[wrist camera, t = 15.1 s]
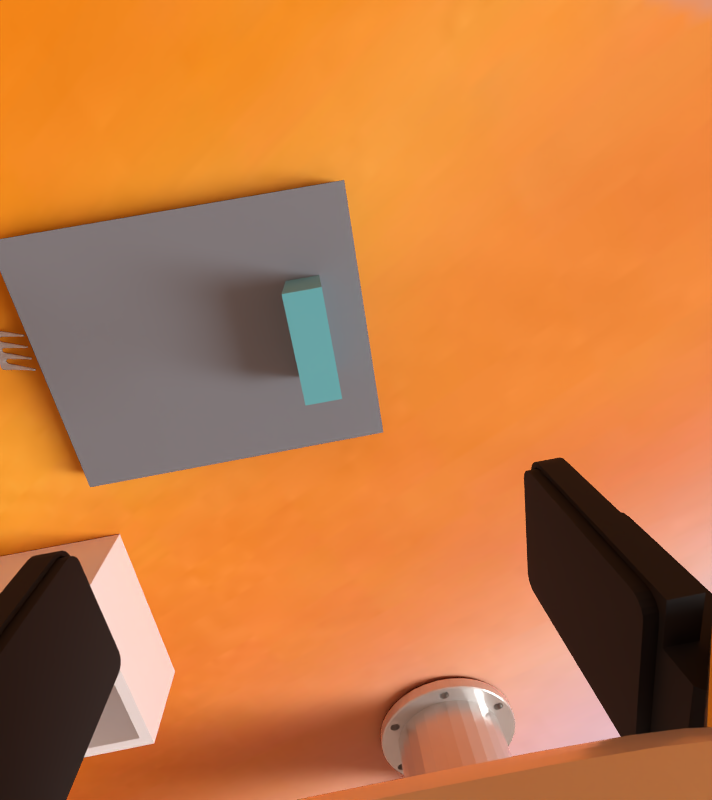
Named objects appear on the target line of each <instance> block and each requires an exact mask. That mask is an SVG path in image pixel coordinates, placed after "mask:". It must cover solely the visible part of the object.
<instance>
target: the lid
mask: <svg viewBox="0 0 712 800" xmlns="http://www.w3.org/2000/svg"><path fill="white" fill-rule="evenodd" d="M0 272H1V274H2V277H3V279H4V281H5V284H6V286H7V289H8V291H9V293H10V296H11V298H12V301H13V303H14V305H15V308H16V310H17V313H18V315H19V317H20V320H21V322H22V325H23V327H24V329H25V332H26V334H27V337H28V339H29V341H30V344H31V346H32V349H33V351H34V353H35V356H36V358H37V361H38V363H39V365H40V368H41V370H42V373H43V375H44V377H45V380H46V382H47V385H48V387H49V389H50V392H51V394H52V397H53V399H54V401H55V404H56V406H57V409H58V411H59V413H60V416H61V418H62V421H63V423H64V425H65V428H66V430H67V433H68V435H69V437H70V440H71V442H72V445H73V447H74V449H75V452H76V454H77V457H78V459H79V461H80V464H81V466H82V469H83V471H84V473H85V476H86V478H87V481H88V483H89V485H90V487H94V486H99V485H104V484H110V483H115V482H120V481H126V480H131V479H136V478H142V477H147V476H152V475H158V474H163V473H168V472H174V471H179V470H184V469H190V468H195V467H200V466H206V465H211V464H216V463H222V462H227V461H232V460H238V459H243V458H248V457H254V456H259V455H264V454H270V453H275V452H280V451H286V450H291V449H296V448H302V447H307V446H312V445H318V444H323V443H328V442H334V441H339V440H344V439H350V438H355V437H360V436H366V435H371V434H376V433H382V432H383V428H382V421H381V415H380V409H379V402H378V396H377V389H376V383H375V376H374V370H373V363H372V357H371V351H370V344H369V338H368V331H367V325H366V318H365V312H364V305H363V299H362V293H361V286H360V280H359V273H358V267H357V260H356V254H355V248H354V241H353V235H352V228H351V222H350V215H349V209H348V202H347V196H346V190H345V183H344V180H342V181H336V182H330V183H325V184H319V185H313V186H307V187H301V188H295V189H290V190H284V191H278V192H272V193H266V194H260V195H255V196H249V197H243V198H237V199H231V200H226V201H220V202H214V203H208V204H202V205H196V206H191V207H185V208H179V209H173V210H167V211H161V212H156V213H150V214H144V215H138V216H132V217H126V218H121V219H115V220H109V221H103V222H97V223H91V224H86V225H80V226H74V227H68V228H62V229H56V230H51V231H45V232H39V233H33V234H27V235H21V236H16V237H10V238H4V239H0Z"/></svg>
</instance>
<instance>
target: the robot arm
mask: <svg viewBox="0 0 712 800" xmlns="http://www.w3.org/2000/svg"><path fill="white" fill-rule="evenodd" d="M524 487H525V512H526V537H527V562H528V577H529V581H530V585H531V587H532V590H533V591H534V593H535V595H536V597H537V598H538V600H539V602H540V603H541V605H542V607H543V608H544V610H545V612H546V613H547V615H548V617H549V618H550V620H551V622H552V623H553V625H554V626H555V628H556V630H557V631H558V633H559V635H560V636H561V638H562V640H563V641H564V643H565V645H566V646H567V648H568V650H569V651H570V653H571V655H572V656H573V658H574V660H575V661H576V663H577V665H578V666H579V668H580V670H581V671H582V673H583V675H584V676H585V678H586V680H587V681H588V683H589V684H590V686H591V688H592V689H593V691H594V693H595V694H596V696H597V698H598V699H599V701H600V703H601V704H602V706H603V708H604V709H605V711H606V713H607V714H608V716H609V718H610V719H611V721H612V723H613V724H614V726H615V728H616V729H617V731H618V733H619V734H620V736H621V737H618V738H612V739H606V740H601V741H595V742H590V743H584V744H578V745H573V746H567V747H562V748H556V749H550V750H545V751H539V752H534V753H528V754H523V755H518V756H513V757H512V756H511V753H510V750H509V748H508V746H509V744H510V742H511V741H512V738H513V735H514V732H515V718H514V713H513V711H512V709H511V706H510V704H509V702H508V700H507V699H506V697H505V696H504V694H502V693H501V692H500V691H499V690H498V689H497V688H495V687H493V686H491V685H489V684H487V683H485V682H481V681H478V680H474V679H466V678H450V679H444V680H438V681H434V682H431V683H428V684H425V685H422V686H420V687H418V688H416V689H414V690H412V691H411V692H409V693H408V694H406V695H405V696H403V697H402V698H401V699H400V700H399V701H397V702H396V703H395V704H394V705H393V706H392V708H391V709H390V710H389V712H388V713H387V715H386V717H385V719H384V721H383V723H382V728H381V744H382V749H383V754H384V756H385V758H386V760H387V762H388V763H389V764H390V765H391V766H392V767H393V768H394V769H395V770H397V771H398V772H400V773H401V774H403V775H404V778H402V779H397V780H392V781H387V782H382V783H377V784H372V785H367V786H362V787H357V788H352V789H347V790H342V791H337V792H332V793H327V794H322V795H317V796H313V797H308V798H303V799H298V800H712V593H711V592H710V591H708V590H707V589H706V588H705V587H704V586H703V585H702V584H701V583H700V582H699V581H698V580H697V579H696V578H694V577H693V576H692V575H691V574H690V573H689V572H688V571H687V570H686V569H685V568H684V567H683V566H682V565H680V564H679V563H678V562H677V561H676V560H675V559H674V558H673V557H672V556H671V555H670V554H669V553H668V552H667V551H665V550H664V549H663V548H662V547H661V546H660V545H659V544H658V543H657V542H656V541H655V540H654V539H653V538H651V537H650V536H649V535H648V534H647V533H646V532H645V531H644V530H643V529H642V528H641V527H640V526H639V525H637V524H636V523H635V522H634V521H633V520H632V519H631V518H630V517H629V516H627V515H626V514H624V513H621V512H620V511H618V510H617V509H616V508H615V507H614V506H613V505H612V504H611V503H610V502H609V501H608V500H607V499H606V498H605V497H604V496H603V495H601V494H600V493H599V492H598V491H597V490H596V489H595V488H594V487H593V486H592V485H591V484H590V483H589V482H588V481H587V480H586V479H584V478H583V477H582V476H581V475H580V474H579V473H578V472H577V471H576V470H575V469H574V468H573V467H572V466H571V465H570V464H569V463H567V462H566V461H565V460H564V459H563V458H555V459H550V460H544V461H539V462H534V463H533V464H532V467H531V470H529V471H526V472H525V474H524ZM120 666H121V657H120V653H119V650H118V648H117V645H116V643H115V641H114V639H113V636H112V634H111V632H110V629H109V627H108V625H107V623H106V620H105V618H104V616H103V614H102V611H101V609H100V607H99V604H98V602H97V600H96V598H95V595H94V593H93V591H92V589H91V586H90V584H89V582H88V579H87V577H86V575H85V573H84V570H83V568H82V566H81V564H80V561H79V560H78V558H77V557H75V556H70V555H69V554H68V553H67V552H66V551H56V552H51V553H46V554H40V555H35V556H32V557H31V558H29V559H28V560H27V561H26V563H25V564H24V565H23V566H22V568H21V569H20V570H19V571H18V572H17V574H16V575H15V576H14V577H13V579H12V580H11V581H10V582H9V583H8V585H7V586H6V587H5V588H4V589H3V591H2V592H1V593H0V800H66V799H67V797H68V794H69V792H70V789H71V787H72V785H73V782H74V780H75V777H76V775H77V773H78V770H79V768H80V765H81V763H82V761H83V758H84V756H85V753H86V751H87V749H88V746H89V744H90V741H91V739H92V737H93V734H94V732H95V729H96V727H97V725H98V722H99V720H100V717H101V715H102V712H103V710H104V708H105V705H106V703H107V700H108V698H109V696H110V693H111V691H112V688H113V686H114V684H115V681H116V679H117V676H118V674H119V671H120Z"/></svg>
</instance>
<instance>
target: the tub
mask: <svg viewBox="0 0 712 800" xmlns="http://www.w3.org/2000/svg"><path fill="white" fill-rule="evenodd" d="M56 551H66V552H67V553H68V554H69V555H70V556H75V557H77V558H78V560H79V561H80V564H81V566H82V568H83V570H84V573H85V575H86V577H87V579H88V582H89V584H90V586H91V589H92V591H93V593H94V595H95V598H96V600H97V602H98V604H99V607H100V609H101V611H102V614H103V616H104V618H105V620H106V623H107V625H108V627H109V629H110V632H111V634H112V636H113V639H114V641H115V643H116V645H117V648H118V650H119V653H120V657H121V666H120V671H119V674H118V676H117V679H116V681H115V684H114V686H113V688H112V691H111V693H110V696H109V698H108V700H107V703H106V705H105V708H104V710H103V712H102V715H101V717H100V720H99V722H98V725H97V727H96V729H95V732H94V734H93V737H92V739H91V741H90V744H89V746H88V749H87V751H86V753H85V756H84V757H89V756H94V755H99V754H104V753H109V752H114V751H119V750H124V749H129V748H134V747H139V746H144V745H149V744H154V743H155V739H156V736H157V732H158V729H159V725H160V722H161V718H162V715H163V711H164V708H165V704H166V701H167V697H168V694H169V690H170V687H171V683H172V680H173V676H174V673H175V671H174V668H173V666H172V663H171V661H170V658H169V656H168V653H167V651H166V648H165V646H164V643H163V641H162V638H161V636H160V633H159V631H158V628H157V626H156V623H155V621H154V618H153V616H152V613H151V611H150V608H149V606H148V603H147V601H146V598H145V596H144V594H143V591H142V589H141V586H140V584H139V581H138V579H137V576H136V574H135V571H134V569H133V566H132V564H131V561H130V559H129V556H128V554H127V551H126V549H125V546H124V544H123V541H122V539H121V536H120V534H118V535H113V536H108V537H102V538H97V539H92V540H86V541H81V542H75V543H70V544H65V545H59V546H54V547H49V548H43V549H38V550H33V551H27V552H22V553H17V554H11V555H6V556H1V557H0V593H1V592H2V591H3V589H4V588H5V587H6V586H7V585H8V583H9V582H10V581H11V580H12V579H13V577H14V576H15V575H16V574H17V572H18V571H19V570H20V569H21V568H22V566H23V565H24V564H25V563H26V561H27V560H28V559H29V558H31V557H32V556H35V555H40V554H46V553H51V552H56Z"/></svg>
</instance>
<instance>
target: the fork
mask: <svg viewBox="0 0 712 800" xmlns="http://www.w3.org/2000/svg"><path fill="white" fill-rule="evenodd" d="M15 336H21V337H24V335H22V334H16V333H10V332H2V331H0V337H15ZM3 348H28V346H23V345H18V344H12V343H5V342H1V341H0V365H1V368H2V369H3V370H32V371H35V370H36V369H34V368H29V367H24V366H19V365H13V364H9V363H7V362H6V360H7V359H32V358H30V357H26V356H20V355H15V354H8V353H4V352H3V351H2V349H3Z"/></svg>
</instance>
